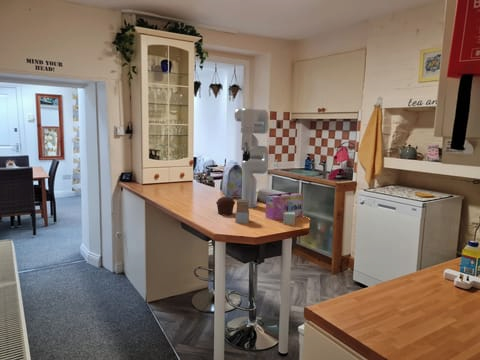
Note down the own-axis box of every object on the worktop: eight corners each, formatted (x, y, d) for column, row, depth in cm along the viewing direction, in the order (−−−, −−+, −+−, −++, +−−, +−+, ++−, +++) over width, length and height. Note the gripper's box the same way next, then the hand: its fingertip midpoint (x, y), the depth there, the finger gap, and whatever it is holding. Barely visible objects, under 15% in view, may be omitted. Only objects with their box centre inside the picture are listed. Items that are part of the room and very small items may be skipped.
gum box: (295, 213, 227) (296, 191, 225) (304, 215, 220) (305, 194, 218) (265, 217, 213) (266, 194, 211) (273, 220, 207) (274, 197, 205)
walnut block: (237, 209, 205) (238, 199, 204) (248, 210, 204) (248, 199, 204) (236, 212, 199) (236, 201, 198) (247, 212, 199) (247, 202, 198)
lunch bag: (248, 198, 267) (249, 162, 263) (226, 198, 263) (227, 162, 259) (241, 192, 289) (242, 159, 285) (220, 193, 285) (221, 159, 281)
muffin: (222, 216, 212) (222, 199, 210) (212, 212, 221) (212, 196, 219) (238, 214, 219) (239, 198, 217) (228, 210, 228) (228, 194, 226)
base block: (236, 219, 207) (236, 209, 206) (248, 220, 206) (249, 210, 205) (235, 222, 200) (235, 212, 199) (247, 223, 199) (248, 212, 198)
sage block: (283, 221, 205) (283, 211, 204) (294, 222, 205) (294, 211, 204) (283, 224, 199) (284, 213, 198) (294, 225, 199) (295, 214, 198)
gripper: (242, 130, 216) (241, 158, 218) (239, 130, 199) (238, 161, 201) (254, 130, 215) (253, 159, 218) (252, 130, 198) (251, 161, 201)
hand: (246, 160), depth 210 cm, fingers open, 9 cm apart
